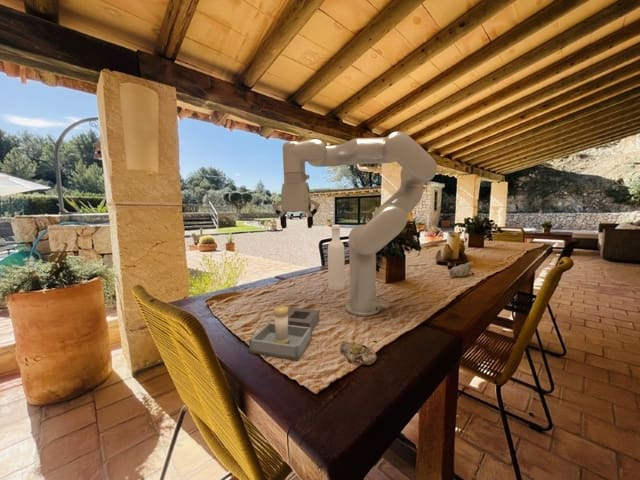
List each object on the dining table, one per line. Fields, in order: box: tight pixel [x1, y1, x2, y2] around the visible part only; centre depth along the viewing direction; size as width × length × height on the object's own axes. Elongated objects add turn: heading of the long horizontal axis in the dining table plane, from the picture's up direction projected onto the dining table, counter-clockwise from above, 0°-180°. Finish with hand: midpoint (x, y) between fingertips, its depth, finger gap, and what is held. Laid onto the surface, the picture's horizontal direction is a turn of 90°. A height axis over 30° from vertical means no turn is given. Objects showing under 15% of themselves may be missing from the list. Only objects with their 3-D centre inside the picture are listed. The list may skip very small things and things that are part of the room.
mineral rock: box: [339, 340, 378, 366], centre depth 67 cm, size 11×4×8 cm
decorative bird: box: [449, 261, 475, 279], centre depth 137 cm, size 5×16×8 cm, turn 114°
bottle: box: [327, 224, 346, 292], centre depth 120 cm, size 8×8×30 cm
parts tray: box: [248, 322, 313, 361], centre depth 72 cm, size 14×11×4 cm
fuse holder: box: [288, 307, 320, 331], centre depth 84 cm, size 10×10×4 cm
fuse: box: [273, 305, 289, 344], centre depth 72 cm, size 4×4×10 cm
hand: (296, 227), depth 92 cm, fingers open, 9 cm apart
